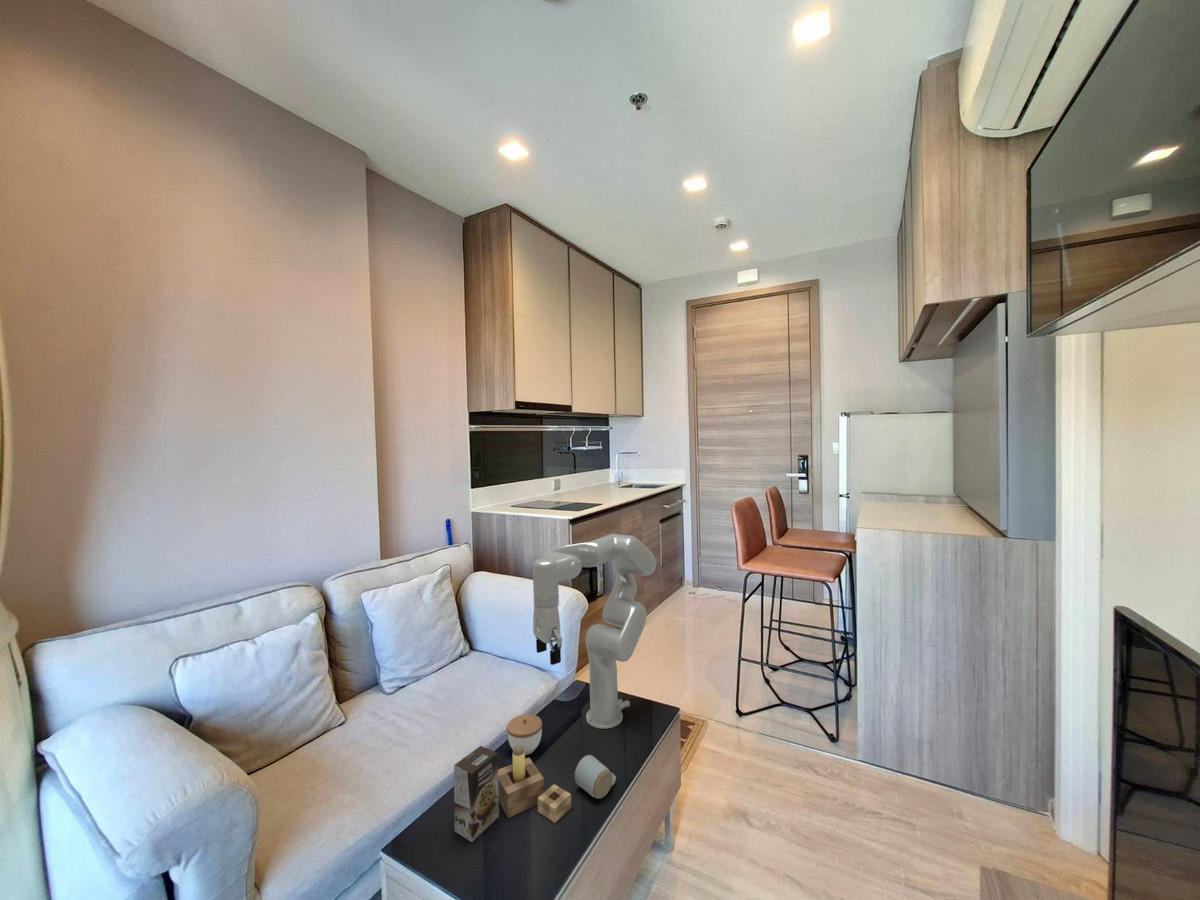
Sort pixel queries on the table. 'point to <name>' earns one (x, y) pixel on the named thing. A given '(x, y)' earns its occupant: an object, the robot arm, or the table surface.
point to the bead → (519, 789)
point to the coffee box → (476, 792)
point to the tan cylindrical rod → (518, 764)
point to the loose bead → (554, 803)
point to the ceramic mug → (594, 777)
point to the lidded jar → (525, 732)
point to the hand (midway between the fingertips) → (548, 657)
